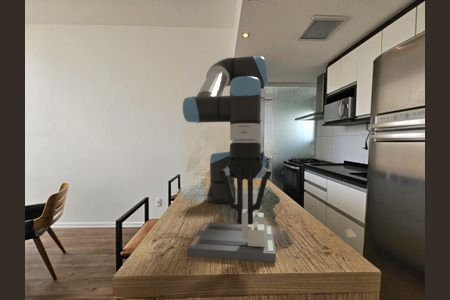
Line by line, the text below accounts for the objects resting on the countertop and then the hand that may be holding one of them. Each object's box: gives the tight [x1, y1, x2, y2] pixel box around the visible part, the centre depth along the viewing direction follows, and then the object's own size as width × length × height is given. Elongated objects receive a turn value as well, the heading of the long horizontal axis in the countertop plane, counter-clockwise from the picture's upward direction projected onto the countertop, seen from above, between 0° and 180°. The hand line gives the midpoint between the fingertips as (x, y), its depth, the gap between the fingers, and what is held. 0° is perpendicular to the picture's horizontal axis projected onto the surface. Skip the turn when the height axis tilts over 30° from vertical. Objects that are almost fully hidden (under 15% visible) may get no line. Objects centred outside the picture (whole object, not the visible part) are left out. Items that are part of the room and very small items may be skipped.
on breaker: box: [252, 210, 265, 225], centre depth 67 cm, size 4×4×5 cm
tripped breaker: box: [248, 222, 265, 247], centre depth 57 cm, size 4×4×5 cm
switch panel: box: [186, 222, 277, 263], centre depth 63 cm, size 18×21×2 cm
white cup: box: [235, 188, 258, 212], centre depth 83 cm, size 8×8×10 cm
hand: (245, 236), depth 57 cm, fingers closed
